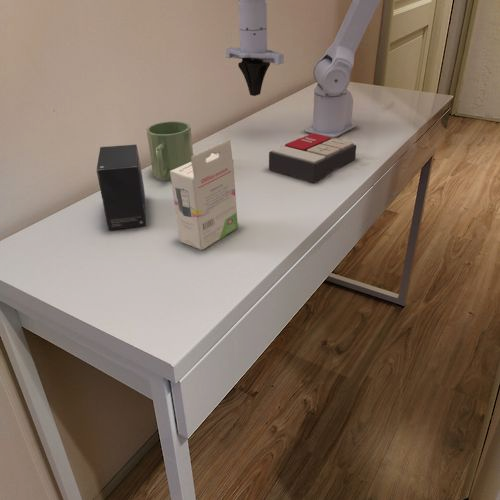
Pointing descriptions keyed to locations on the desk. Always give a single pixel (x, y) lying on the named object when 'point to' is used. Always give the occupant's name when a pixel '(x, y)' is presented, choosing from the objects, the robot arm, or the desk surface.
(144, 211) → the small box
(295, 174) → the calculator
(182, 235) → the ink box
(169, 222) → the desk surface
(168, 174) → the mug
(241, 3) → the robot arm
